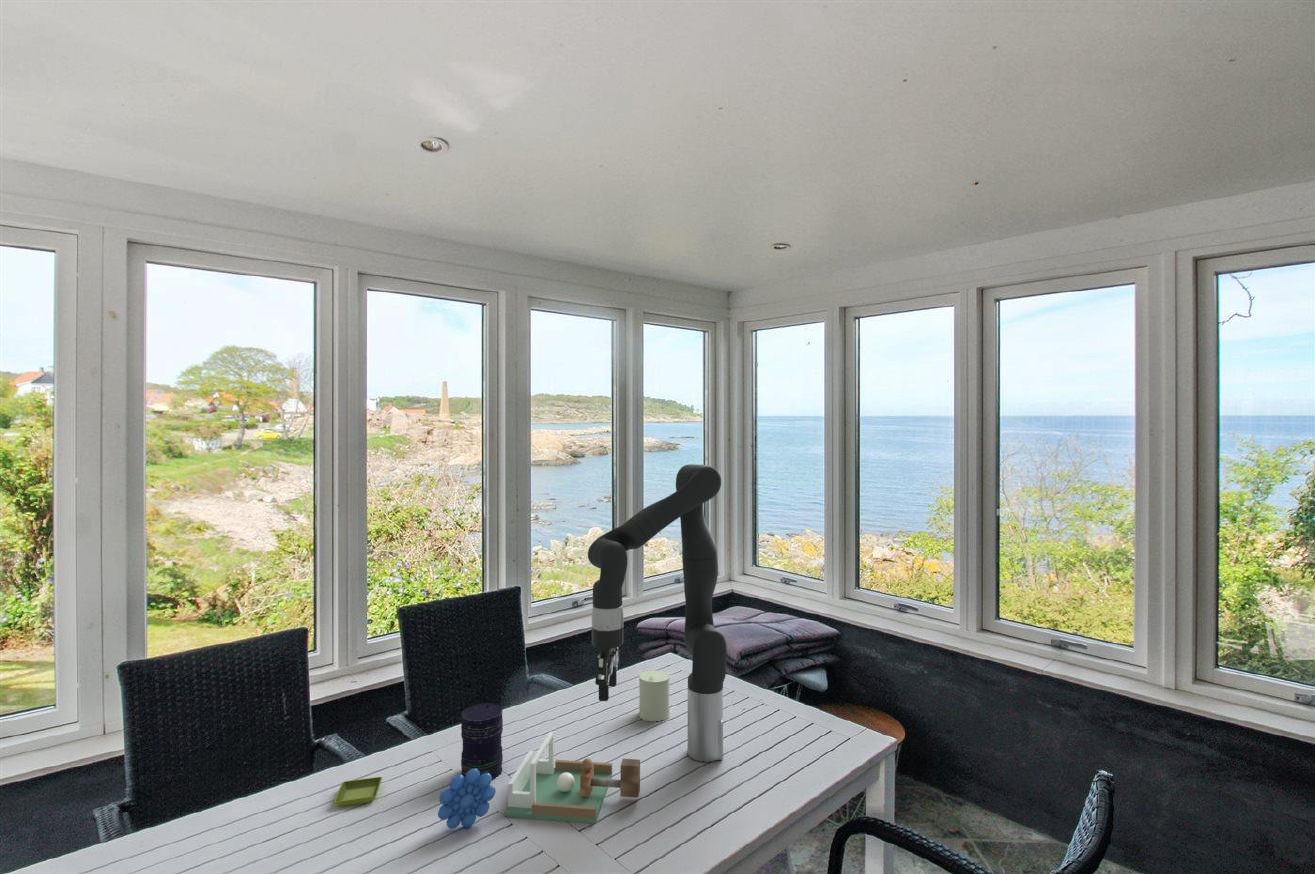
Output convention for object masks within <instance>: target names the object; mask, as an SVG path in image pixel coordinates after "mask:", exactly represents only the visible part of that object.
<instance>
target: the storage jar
mask: <svg viewBox="0 0 1315 874" xmlns="http://www.w3.org/2000/svg"><path fill="white" fill-rule="evenodd" d="M503 723H504V721H503V707H502V706H501V705H499V704H495V703H492V702H491V703H487V702H486V703H478V704H473V705H470V706H468V707H467V708H465V709H464V710H463V711H461V726H460V729H461V733H460V734H461V735H460V736H461V739H462V751H461V755H460V756H461V760H460V764H461V765H460V766H461V775H463V776H464V777H466V774H467V772H468V771H469V770H471V769H474V768H475V769H478V770H479V772H480V776H481V775H482V774H484V773H489V774H490V775H491V776H492V781H494V780H496V779H497V778H498V776H499V775H500V776H501V775H502V772H503V756H504V755H503V746H502V734H503V729H504V728H503ZM480 776H479V777H480ZM500 776H499V777H500ZM496 777H497V778H496ZM495 778H496V779H495ZM493 779H494V780H493Z"/></svg>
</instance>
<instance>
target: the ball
mask: <svg viewBox="0 0 1315 874" xmlns="http://www.w3.org/2000/svg"><path fill="white" fill-rule="evenodd" d="M574 784H575V780H574V777H573V775H572V774H570V773H568V772H565V773H562V774H561V775H560V776H559V778H558V780H557V786H558V788H559V790H560V791H562V792H569V791H570V790H572V788H573V787H574Z"/></svg>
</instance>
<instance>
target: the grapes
mask: <svg viewBox="0 0 1315 874" xmlns="http://www.w3.org/2000/svg"><path fill="white" fill-rule="evenodd" d="M479 776H480V772H479V770H478V769H475V768H474V769H471V770H469V771H468V772H467V774H466V777H464V776H463V775H462V774H456V775H455V776H454V777H452V779H451V781H450V783H449V787H448V788H445V789H444V790H443V791H441V792H440V795H439V796H438V797H439V800H438V801H439V803H440V804H441V806H440V807H439V810H438V811H437V817H438V818H439V819H440V820H442V821H445V820H446V826H447V828H448V829H451V830H453V829H456V828H457V827H458V826H460V825H461V826H463V828H469V827H472V826H473V825H474V823H475V822H476V819H477V817H479V818H480V817H484V816H485V815H486V814H488V811H489V809H490V803H489V802H490V801H491V800H493V799H494V797H495V794H496V788H495V787H494V785H491V783H492V782H493V780H492V776H491V775H490V774H489V773H484V774H482V775H481V776H480V777H479Z"/></svg>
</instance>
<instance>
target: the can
mask: <svg viewBox="0 0 1315 874" xmlns="http://www.w3.org/2000/svg"><path fill="white" fill-rule="evenodd" d="M670 677H671V676H670V674H669V673H668V672H666V671H661V670H646V671H643V672H641V673H640V674H639V676H638V679H639V684H638V685H639V691H638V692H639V699H638V700H639V703H638V704H639V706H638V707H639V708H638V716H640V717H641V718H642V720H643V721H646V722H651V721H653V722H656V721H658V722H662V721H661V720H663V721H665V719H666V720H667V719H669V718H670V714H671V713H670ZM640 717H639V718H640ZM641 718H640V719H641ZM653 722H652V723H653Z"/></svg>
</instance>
